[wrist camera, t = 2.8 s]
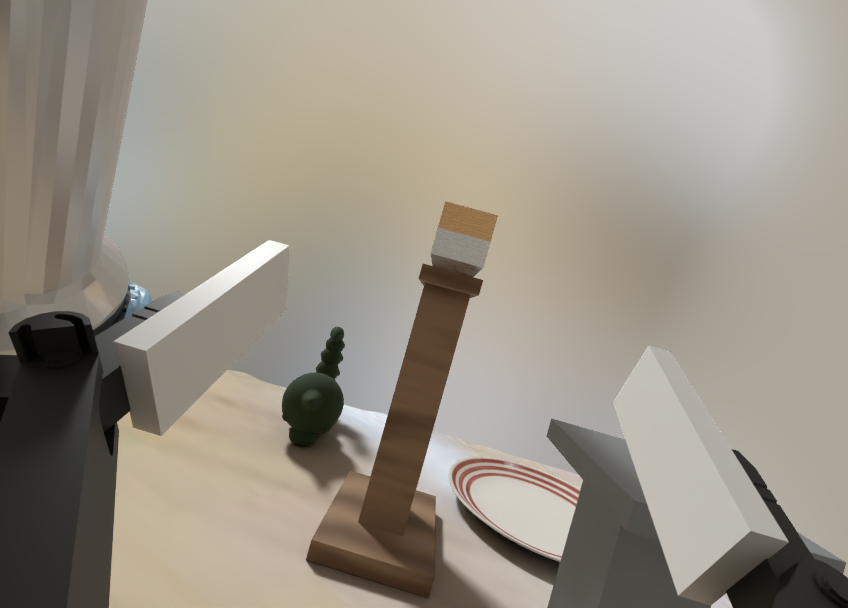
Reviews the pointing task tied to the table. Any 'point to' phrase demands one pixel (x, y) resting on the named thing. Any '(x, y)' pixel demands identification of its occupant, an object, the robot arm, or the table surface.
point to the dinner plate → (517, 501)
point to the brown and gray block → (462, 239)
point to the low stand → (616, 532)
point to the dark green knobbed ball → (315, 396)
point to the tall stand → (400, 456)
